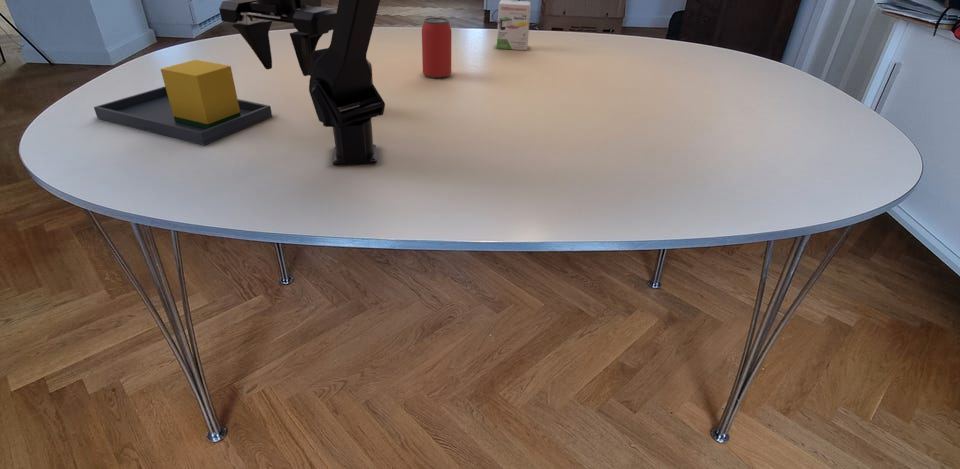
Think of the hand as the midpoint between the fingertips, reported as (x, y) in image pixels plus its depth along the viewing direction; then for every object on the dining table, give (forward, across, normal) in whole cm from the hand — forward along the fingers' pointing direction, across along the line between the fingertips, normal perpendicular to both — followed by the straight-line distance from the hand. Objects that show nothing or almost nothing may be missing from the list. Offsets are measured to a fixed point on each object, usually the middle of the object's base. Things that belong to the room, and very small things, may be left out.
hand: (287, 72), depth 87 cm
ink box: (+10, -8, -78) cm, 79 cm away
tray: (+10, +21, +4) cm, 24 cm away
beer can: (+10, -4, -43) cm, 44 cm away
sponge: (+9, +16, +4) cm, 19 cm away
